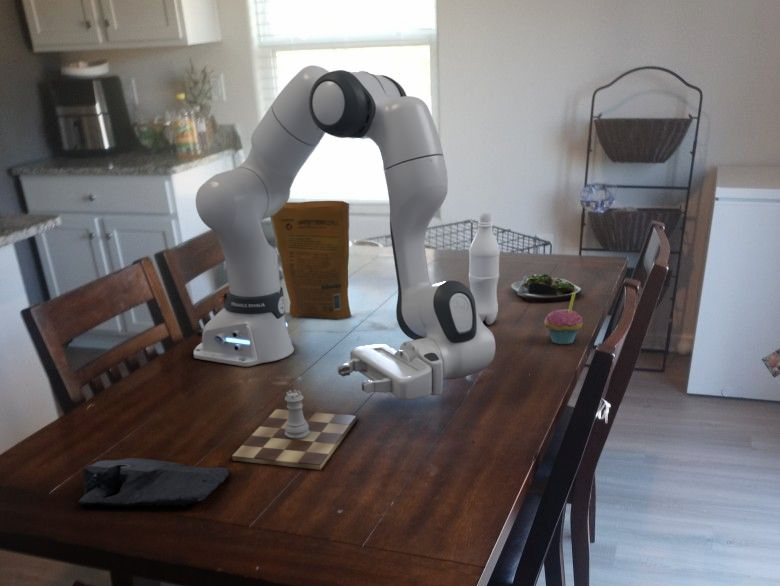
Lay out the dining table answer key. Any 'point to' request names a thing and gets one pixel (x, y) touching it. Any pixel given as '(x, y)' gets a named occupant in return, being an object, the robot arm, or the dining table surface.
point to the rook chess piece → (295, 417)
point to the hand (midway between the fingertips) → (351, 379)
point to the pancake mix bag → (314, 257)
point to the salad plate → (545, 289)
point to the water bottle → (484, 269)
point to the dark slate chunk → (148, 482)
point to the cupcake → (564, 324)
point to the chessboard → (295, 440)
